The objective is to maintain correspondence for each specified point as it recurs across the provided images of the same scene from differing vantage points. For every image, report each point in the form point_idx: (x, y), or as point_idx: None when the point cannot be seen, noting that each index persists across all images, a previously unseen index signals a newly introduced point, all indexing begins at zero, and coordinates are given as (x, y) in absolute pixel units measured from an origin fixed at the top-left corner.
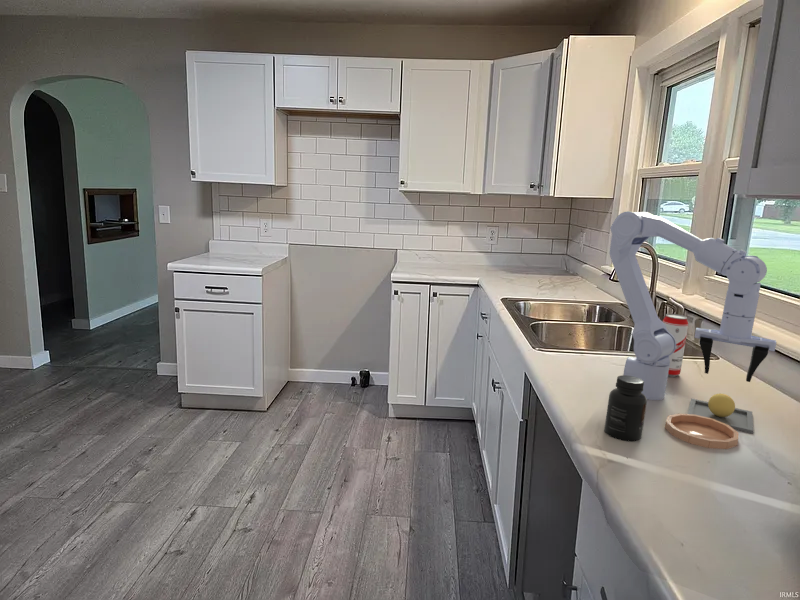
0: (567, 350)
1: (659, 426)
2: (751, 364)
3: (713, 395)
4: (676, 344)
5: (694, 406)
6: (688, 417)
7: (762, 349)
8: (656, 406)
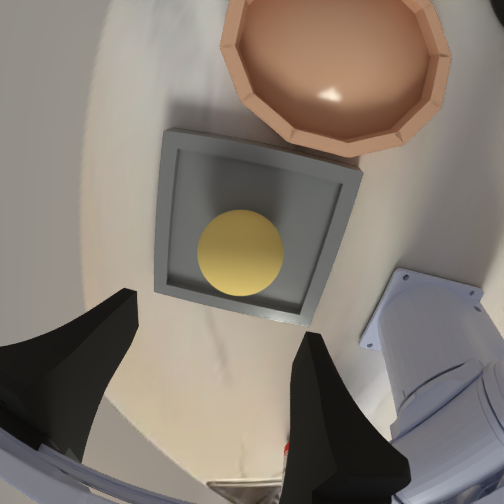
0: None
1: (444, 96)
2: (80, 341)
3: (268, 277)
4: None
5: (316, 268)
6: (368, 136)
7: (6, 415)
8: (414, 259)
